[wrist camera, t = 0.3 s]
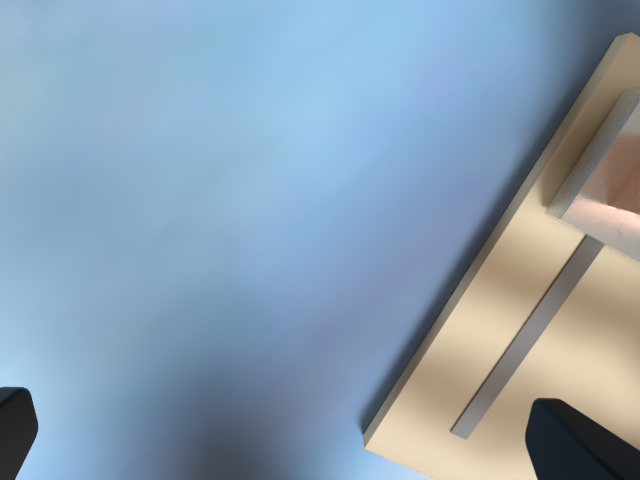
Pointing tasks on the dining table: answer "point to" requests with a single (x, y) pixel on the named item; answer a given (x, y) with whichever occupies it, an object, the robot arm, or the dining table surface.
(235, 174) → the dining table surface
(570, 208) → the slider
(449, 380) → the press base
